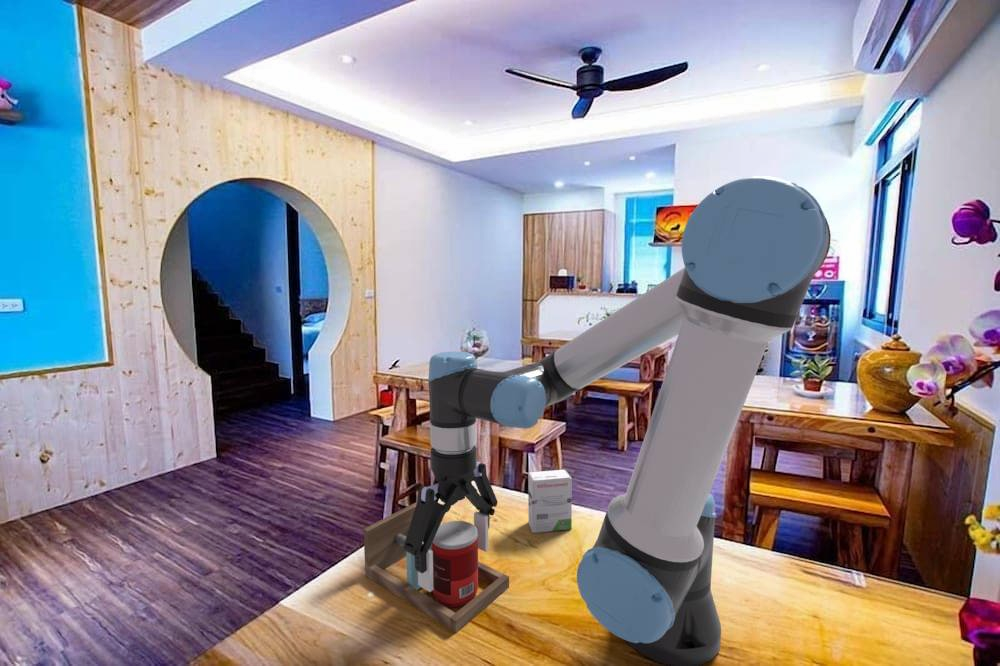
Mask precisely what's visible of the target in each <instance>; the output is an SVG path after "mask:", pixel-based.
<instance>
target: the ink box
mask: <svg viewBox="0 0 1000 666" xmlns="http://www.w3.org/2000/svg"><path fill="white" fill-rule="evenodd" d="M527 476H528V479H527V481H528V492H527V493H528V503H527V504H528V512H527V513H528V525H529V528H530V530H531V532H532V533H533V534H535V533H536V534H538V533H547V532H548V533H549V532H557V531H566V530H572V527H573V525H572V522H573V521H572V518H573V517H572V515H573V514H572V513H573V512H572V511H573V510H572V505H573V501H572V500H573V498H572V496H573V495H572V491H573V488H572V487H573V484H572V483H573V482H572V481H573V478H572V477H571V475H570V474H569V472H568V471H567V470H566V469H558V470H557V469H556V470H555V469H553V470H544V471H543V470H542V471H532V472H531V471H530V472H529V471H528V475H527Z"/></svg>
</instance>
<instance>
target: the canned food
mask: <svg viewBox="0 0 1000 666" xmlns="http://www.w3.org/2000/svg"><path fill="white" fill-rule="evenodd" d="M432 551H433V590H432V593H433V597H434V598H435V601H436V602H438V603H440V604H441V605H443V606H445V607H446V608H457V607H464V606H465V605H466V604H467V603H469V602H470V601H471V600H472V599H474V598H475V597H476V596H477V593H478V589H479V577H478V562H479V549H478V533H477V528H476V527H475V526H474V523H473V524H472V522H468V521H465V520H464V521H463V520H452V521H451V520H450V521H446V522H443V523H441V524H440V526H439V528H438V531H437V533H436V535H435V537H434V539H433V542H432Z"/></svg>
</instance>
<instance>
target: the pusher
mask: <svg viewBox="0 0 1000 666" xmlns="http://www.w3.org/2000/svg"><path fill="white" fill-rule="evenodd" d="M422 544H424V543H423V542H422ZM429 549H430V550H431V551H432V544H431V546H430V548H429ZM405 558H406V584H408V585H410V586H411V587H413V588H415V589H416V590H418V591H419V590H420V589H421V588H422V587H420V586H419V585H418V571H417V570H416V569H415V556H414V555H412V554H410V553H408V552H407V551H406V556H405Z"/></svg>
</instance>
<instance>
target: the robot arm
mask: <svg viewBox="0 0 1000 666" xmlns="http://www.w3.org/2000/svg"><path fill="white" fill-rule="evenodd" d="M830 248H831V228H830V225H829V222H828V220H827V218H826V216H825V213H824V211H823V208H822V207H821V205H820V204H819V202H818V200H817V199H816V198H815V196H814V195H812V194H811V193H810V192H809V191H808V190H807V189H805V188H804V187H802V186H800V185H798V184H797V183H795V182H791V181H786V180H784V179H781V178H777V177H772V176H749V177H742V178H739V179H735V180H733V181H729V182H727V183H725V184H723V185H721V186H720V187H717V188H716V189H715V190H713V191H711V193H709V194H708V195H706V196H705V197H704V198H703V199H702V200H701V201H700V202H699V203H698V204H697V206H696V207H695V208H694V209H693V211H692V212H691V214H690V216H689V217H688V220H687V222H686V223H685V227H684V229H683V233H682V238H681V257H682V260H683V265H684V267H683V268H681V269H680V270H678V271H676V272H675V273H674V274H672V275H671V276H668V277H667V278H666V279H664V280H662V281H661V282H660V283H657V285H655V286H653V287H652V288H651V289H649V290H647V291H646V292H644V293H642V294H641V295H640V296H638V297H637V298H635V299H633V300H632V301H630V302H629V303H627V304H626V305H624V306H622V307H621V308H619V309H617V310H616V311H615V312H613V313H612V314H610V315H609V316H607V317H605V318H604V319H602V320H601V321H599V322H597V323H596V324H594V325H593V326H591V327H589V328H588V329H587V330H585V331H583V332H582V333H581V334H579V335H577V336H576V337H574V338H572V339H571V340H569V341H568V342H566V343H565V344H563V345H561V346H560V347H558V348H557V349H556V350H554V351H552V352H551V353H550V354H549V353H548V355H546V356H544V357H543V358H541V359H539V360H538V361H535V362H533V363H530V364H526V365H523V366H518V367H516V368H512V369H508V370H505V371H493V370H484V369H480V368H477V366H478V364H477V362H476V356H475V354H473V353H470V352H467V351H444V352H437V353H435V354H434V355H432V356H431V357H430V359H429V362H428V363H429V365H428V369H429V370H428V378H427V382H428V392H429V394H428V395H429V396H428V397H429V399H428V400H429V430H430V431H429V432H430V437H429V438H430V441H429V442H430V446H431V449H430V469H431V471H432V474H433V478H434V479H433V483H432V484H431V485H429V486H425V485H420V486H419V487H418V491H417V501H416V502H417V504H416V508H415V511H414V514H413V517H412V521H411V524H410V527H409V530H408V533H407V537H406V540H405V543H404V546H403V549H404V550H405V551H407V552H408V553H410V554H412V555H414V556H415V569H416V570H417V571H418V585H419V586H420V587H421V588H422V589H424V590H425V591H427V592H429V593H431V592H433V551H431V550H430V549H429V548H430V546H431V544H432V542H433V539H434V537H435V535H436V533H437V531H438V528H439V526H440V525H441V524H442V521H443V519H444V517H445V515H446V513H449V511H451V507H452V506H455V504H457V503H458V501H462V500H464V499H465V498H466V499H467V500H468V501H469V502H470V503H471V504H472V506H474V508H475V509H476V511H475V512H473V525H474V526H475V527H476V528H477V533H478V550H481V551H483V552H485V553H486V552H488V551H489V530H490V516H494V515H495V512H496V510H495V508H496V507H497V505H498V504H499V503H498V499H497V496H496V494H495V492H494V490H493V486H492V484H491V482H490V479H489V477H488V475H487V465H486V463H482V462H480V461H477V458H478V457H477V447H476V445H477V442H478V441H477V438H478V437H477V419H478V420H482V421H487V422H490V423H494V424H498V425H500V426H503V427H506V428H507V427H508V428H517V429H524V430H525V429H531V428H533V427H535V426H536V425H537V424H538V422H539V420H541V418H542V417H543V415H544V413H545V409H546V407H549V406H552V405H553V404H557V403H560V402H563V401H565V400H567V399H568V398H570V397H571V396H572V395H574V393H576V392H579V390H581V389H583V388H585V387H586V386H588V385H591V384H592V383H593V382H595V381H597V380H599V379H601V378H603V377H605V376H606V375H608V374H610V373H612V372H614V371H615V370H617V369H619V368H621V367H622V366H623V367H624V365H627V364H628V363H630V362H632V361H633V360H636V359H637V358H639V357H641V356H643V355H645V354H646V353H648V352H650V351H652V350H653V349H655V348H657V347H659V346H661V345H663V344H664V343H666V342H668V341H670V340H672V339H673V338H675V337H677V338H676V341H675V344H674V348H673V350H672V353H671V356H670V358H669V359H670V360H669V362H668V365H667V366H668V367H667V369H666V372H665V374H664V378H663V381H662V383H661V387H660V390H659V392H658V395H657V398H656V402H655V404H654V408H653V410H652V415H651V416H650V420H649V423H648V427H647V429H646V433H645V435H644V438H643V441H642V444H641V447H640V450H639V453H638V456H637V459H636V463H635V465H634V469H633V471H632V474H631V477H630V480H629V483H628V486H627V489H626V492H625V493H623V494H620V495H617V496H615V497H613V498H612V499H611V500H610V502H609V504H608V506H607V509H606V513H605V515H604V519H603V521H602V524H601V528H600V530H599V533H598V537H597V539H596V541H595V543H594V545H593V546H592V547H591V548H589V549H588V550H586V552H584V554H583V556H582V558H581V560H580V562H579V564H578V567H577V569H576V582H577V583H576V584H577V589H578V591H579V595H580V597H581V599H582V600H583V601H584V603H586V609H587V610H588V611H589V614H591V616H592V617H593V618H594V619H595V620H596V621H597V622H598V623H599V624H600V625H601V626H602V627H603V628H605V630H607V631H608V632H610V633H611V634H612V635H615V636H616V637H618V638H620V639H622V640H625V642H627V643H628V644H629V646H631V647H632V648H633V649H634V650H636V651H637V652H638V653H639V654H642V655H643V656H645V657H647V658H649V659H651V660H653V661H655V662H658V663H661V664H664V665H668V666H702V665H703V664H706V663H709V662H710V661H712V659H714V658H715V657H716V656H717V655H718V653H719V651H720V648H721V645H722V644H721V639H722V625H721V621H720V617H719V614H718V611H717V607H716V603H715V600H714V597H713V594H712V591H711V590H712V589H711V587H712V585H711V584H712V569H713V554H714V552H713V551H714V538H715V524H716V523H715V521H716V518H717V513H716V501H715V498H714V496H713V494H712V493H711V490H712V487H713V485H714V482H715V480H716V477H717V474H718V473H719V469H720V467H721V465H722V463H723V459H724V457H725V455H726V452H727V449H728V447H729V444H730V441H731V438H732V437H733V433H734V431H735V430H736V425H737V423H738V421H739V418H740V416H741V413H742V410H743V409H744V405H745V403H746V400H747V397H748V395H749V392H750V390H751V387H752V384H753V383H754V380H755V377H756V374H757V372H758V369H759V368H760V364H761V362H762V359H763V357H764V354H765V351H766V350H767V347H768V344H769V342H770V341H771V340H773V339H774V338H776V337H778V336H781V335H783V334H785V333H787V332H789V331H791V330H792V329H793V327H794V325H795V322H796V319H797V317H798V314H799V312H800V309H801V308H802V306H803V305H802V304H803V303H804V300H805V297H806V294H807V293H808V290H809V287H810V286H811V283H812V280H813V277H814V276H815V275H816V274H817V272H818V271H819V270H820V269H821V267H823V265H824V263H825V261H826V259H827V257H828V255H829V252H830ZM473 481H474V483H475V486H476V487H477V489H476V487H475V486H474V485H473V484H472V482H473ZM439 501H440V502H442V503H443V504H442V503H439ZM493 507H495V508H493ZM422 542H423V543H424V544H422Z"/></svg>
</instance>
